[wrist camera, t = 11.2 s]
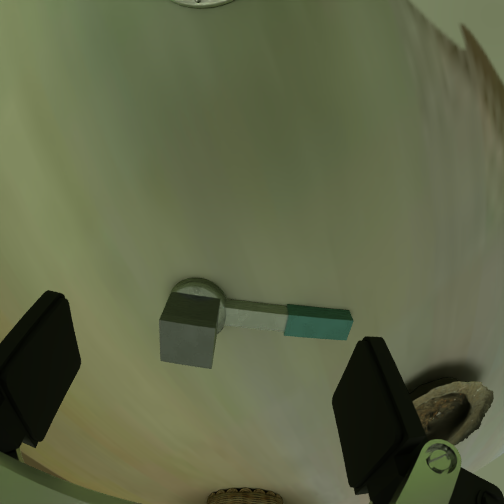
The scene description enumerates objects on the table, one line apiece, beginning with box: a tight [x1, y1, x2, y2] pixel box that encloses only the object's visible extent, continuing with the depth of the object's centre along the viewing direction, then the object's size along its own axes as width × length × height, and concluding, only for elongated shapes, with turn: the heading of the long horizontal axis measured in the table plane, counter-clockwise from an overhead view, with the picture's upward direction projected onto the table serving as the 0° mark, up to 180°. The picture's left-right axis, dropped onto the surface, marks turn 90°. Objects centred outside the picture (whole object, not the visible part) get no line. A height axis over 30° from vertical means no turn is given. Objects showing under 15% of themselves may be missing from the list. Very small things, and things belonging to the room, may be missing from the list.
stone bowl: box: [409, 377, 493, 445], centre depth 50 cm, size 25×25×9 cm
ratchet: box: [168, 278, 353, 340], centre depth 40 cm, size 8×25×7 cm, turn 82°
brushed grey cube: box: [159, 292, 221, 369], centre depth 38 cm, size 6×6×6 cm
